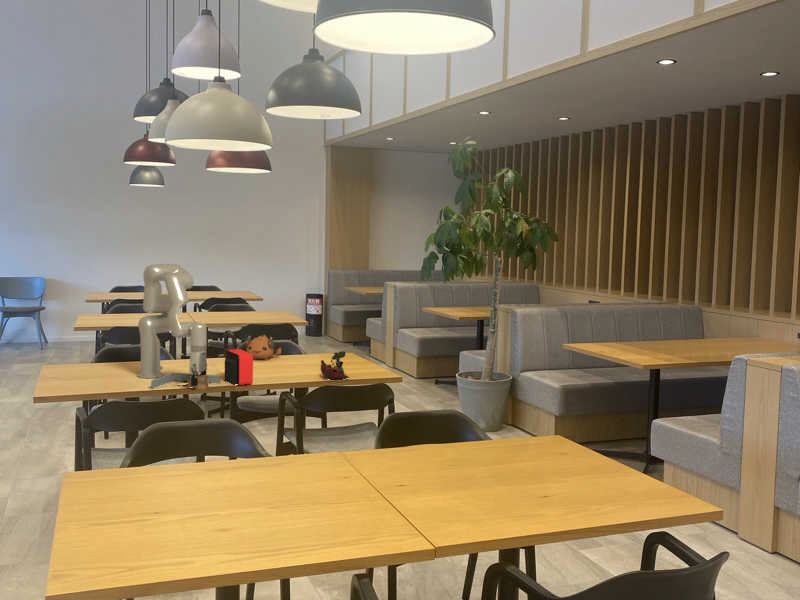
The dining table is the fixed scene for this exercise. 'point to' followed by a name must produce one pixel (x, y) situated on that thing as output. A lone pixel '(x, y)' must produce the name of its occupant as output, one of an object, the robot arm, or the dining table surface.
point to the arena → (180, 378)
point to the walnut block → (199, 382)
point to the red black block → (238, 367)
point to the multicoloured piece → (334, 368)
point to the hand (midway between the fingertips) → (198, 383)
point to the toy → (261, 347)
